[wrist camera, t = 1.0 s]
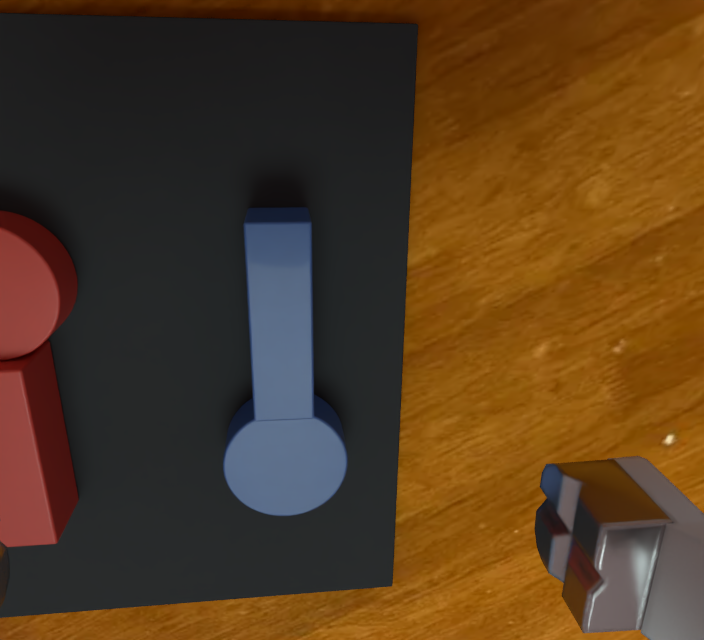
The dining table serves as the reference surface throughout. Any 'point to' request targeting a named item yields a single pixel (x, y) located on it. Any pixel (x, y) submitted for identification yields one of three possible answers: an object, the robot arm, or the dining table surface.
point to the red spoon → (33, 384)
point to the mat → (208, 288)
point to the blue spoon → (282, 378)
